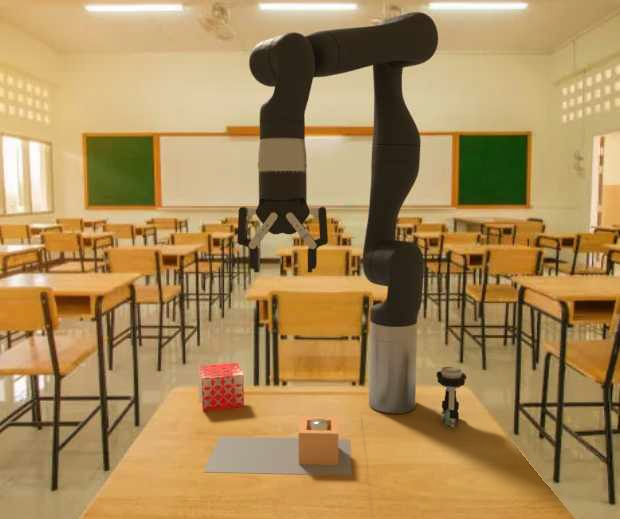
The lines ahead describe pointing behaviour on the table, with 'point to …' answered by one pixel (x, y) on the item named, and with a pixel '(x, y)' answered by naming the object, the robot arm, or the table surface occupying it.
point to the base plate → (271, 457)
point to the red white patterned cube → (221, 386)
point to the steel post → (318, 424)
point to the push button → (451, 393)
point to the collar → (318, 442)
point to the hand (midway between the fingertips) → (283, 271)
